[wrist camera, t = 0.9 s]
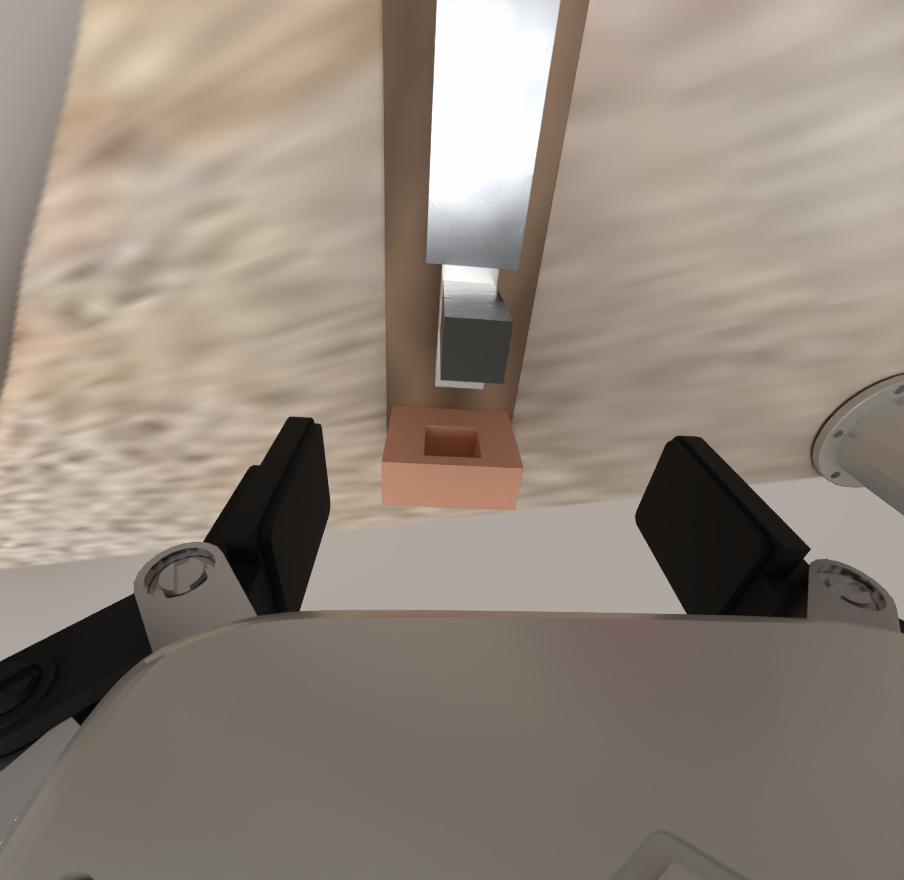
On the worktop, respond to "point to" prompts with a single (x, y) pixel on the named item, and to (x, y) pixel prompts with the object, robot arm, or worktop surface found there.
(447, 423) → the socket block
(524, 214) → the outer sleeve
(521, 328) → the base board
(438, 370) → the tube
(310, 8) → the worktop surface
